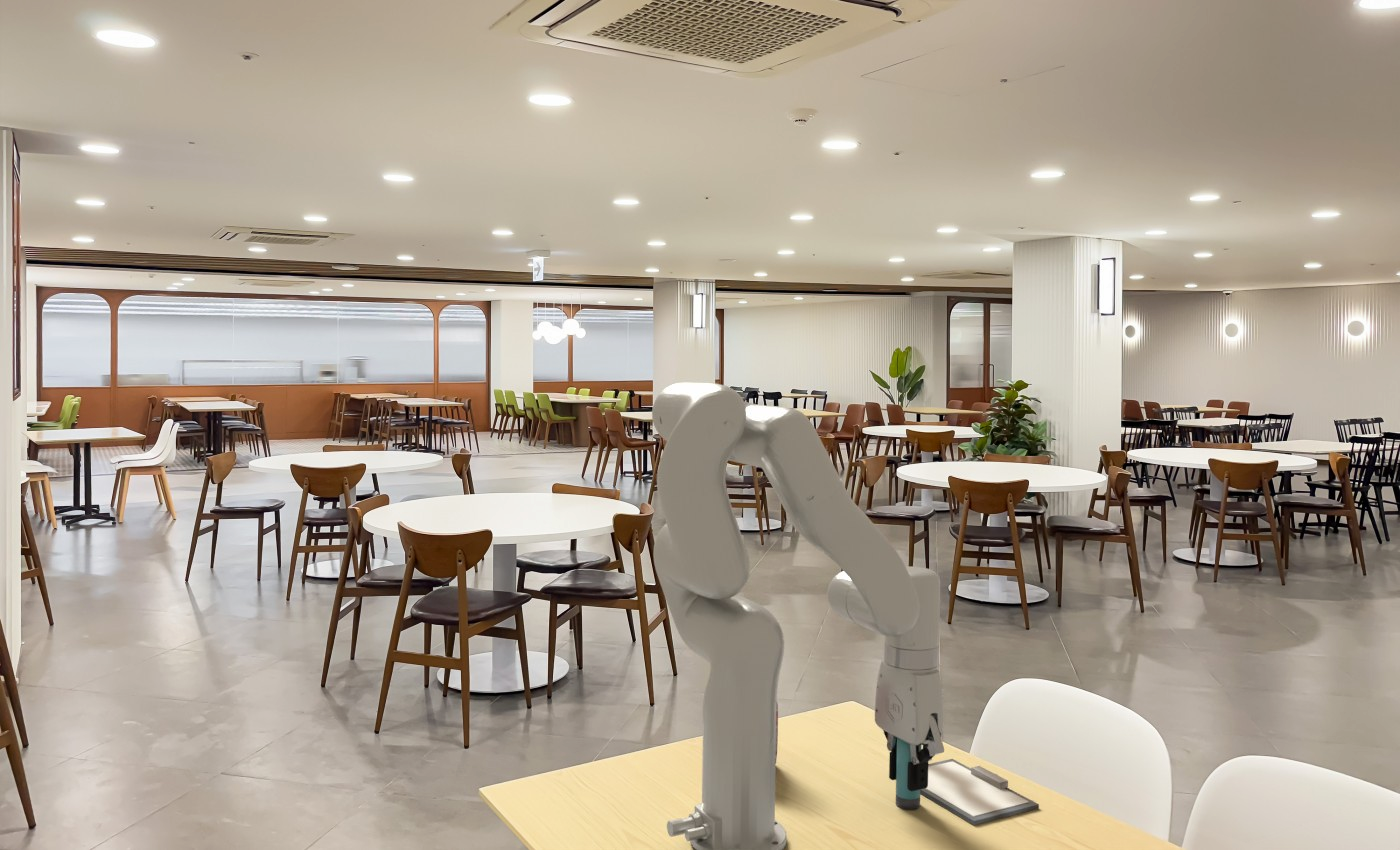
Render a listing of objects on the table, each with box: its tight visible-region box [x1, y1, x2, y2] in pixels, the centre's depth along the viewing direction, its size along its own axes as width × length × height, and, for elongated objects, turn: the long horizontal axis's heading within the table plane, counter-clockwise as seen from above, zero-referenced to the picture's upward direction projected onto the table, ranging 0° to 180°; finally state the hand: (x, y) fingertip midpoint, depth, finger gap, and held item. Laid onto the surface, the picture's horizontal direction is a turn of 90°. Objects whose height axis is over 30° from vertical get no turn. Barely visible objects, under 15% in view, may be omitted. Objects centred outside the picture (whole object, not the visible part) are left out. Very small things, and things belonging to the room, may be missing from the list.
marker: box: [895, 738, 922, 811], centre depth 139 cm, size 4×4×12 cm
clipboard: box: [920, 758, 1040, 826], centre depth 144 cm, size 12×18×2 cm, turn 27°
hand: (908, 782), depth 139 cm, fingers closed on marker, 3 cm apart
